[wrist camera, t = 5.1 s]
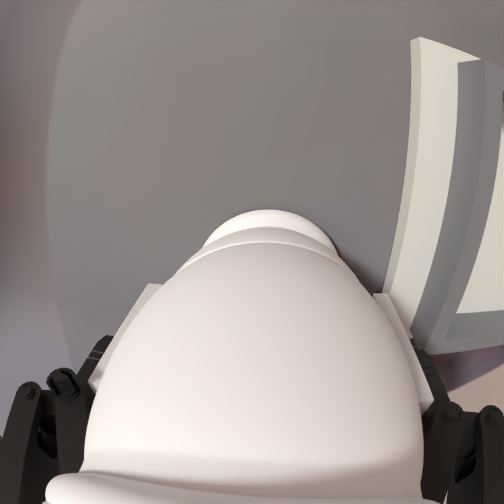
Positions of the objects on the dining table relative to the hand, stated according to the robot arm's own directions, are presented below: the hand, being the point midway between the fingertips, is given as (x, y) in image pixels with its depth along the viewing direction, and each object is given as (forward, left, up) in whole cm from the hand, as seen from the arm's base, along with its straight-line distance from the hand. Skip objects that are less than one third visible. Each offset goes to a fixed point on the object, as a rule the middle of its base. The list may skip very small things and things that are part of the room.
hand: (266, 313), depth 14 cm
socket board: (+17, +5, -3) cm, 18 cm away
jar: (0, 0, -4) cm, 4 cm away
